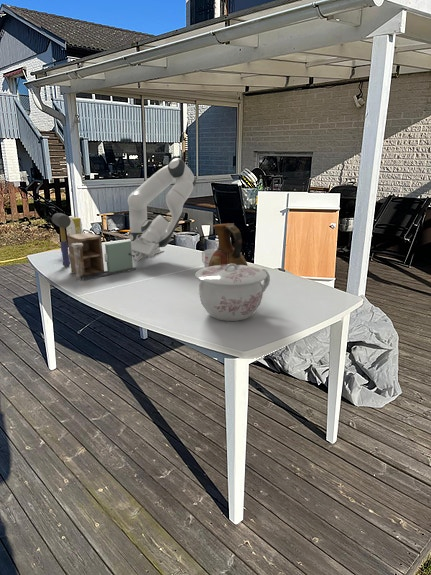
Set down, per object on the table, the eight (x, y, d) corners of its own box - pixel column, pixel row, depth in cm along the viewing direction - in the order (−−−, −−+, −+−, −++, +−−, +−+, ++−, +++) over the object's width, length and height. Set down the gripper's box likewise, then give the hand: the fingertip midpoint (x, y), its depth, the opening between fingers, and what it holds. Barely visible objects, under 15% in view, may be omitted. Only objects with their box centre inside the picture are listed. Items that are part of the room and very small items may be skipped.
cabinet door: (130, 268, 223) (128, 240, 218) (133, 269, 221) (131, 241, 216) (105, 273, 213) (102, 244, 208) (108, 275, 211) (105, 245, 206)
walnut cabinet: (92, 268, 225) (88, 232, 218) (108, 274, 212) (104, 237, 206) (63, 273, 214) (59, 236, 208) (79, 280, 201) (74, 241, 195)
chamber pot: (188, 326, 147) (186, 271, 140) (203, 301, 172) (203, 253, 166) (264, 331, 142) (267, 275, 136) (269, 304, 168) (271, 256, 161)
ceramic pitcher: (227, 277, 207) (227, 218, 198) (257, 285, 193) (259, 223, 184) (199, 285, 194) (198, 223, 185) (229, 294, 180) (230, 228, 171)
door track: (130, 267, 225) (130, 265, 225) (135, 269, 221) (135, 267, 221) (79, 278, 206) (79, 276, 205) (84, 280, 202) (84, 278, 201)
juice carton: (67, 253, 260) (63, 216, 253) (79, 251, 266) (75, 214, 258) (75, 255, 254) (70, 217, 247) (86, 253, 259) (82, 216, 252)
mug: (224, 270, 219) (224, 250, 215) (213, 274, 213) (213, 253, 209) (208, 266, 226) (208, 247, 223) (197, 270, 220) (196, 250, 217)
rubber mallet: (77, 267, 225) (70, 214, 216) (63, 270, 221) (56, 215, 212) (69, 263, 235) (63, 211, 226) (56, 265, 230) (49, 212, 221)
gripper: (163, 246, 220) (149, 267, 217) (142, 241, 234) (129, 260, 231) (156, 239, 216) (142, 260, 212) (135, 234, 230) (122, 254, 227)
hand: (135, 260), depth 222 cm, fingers closed
